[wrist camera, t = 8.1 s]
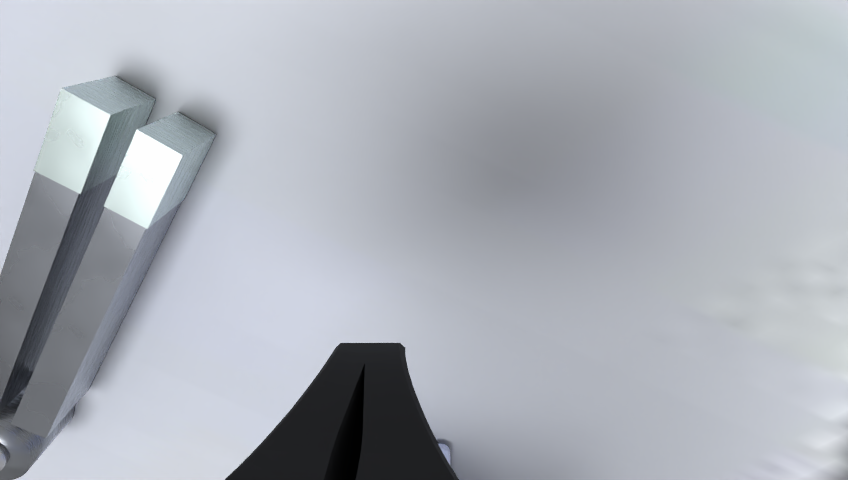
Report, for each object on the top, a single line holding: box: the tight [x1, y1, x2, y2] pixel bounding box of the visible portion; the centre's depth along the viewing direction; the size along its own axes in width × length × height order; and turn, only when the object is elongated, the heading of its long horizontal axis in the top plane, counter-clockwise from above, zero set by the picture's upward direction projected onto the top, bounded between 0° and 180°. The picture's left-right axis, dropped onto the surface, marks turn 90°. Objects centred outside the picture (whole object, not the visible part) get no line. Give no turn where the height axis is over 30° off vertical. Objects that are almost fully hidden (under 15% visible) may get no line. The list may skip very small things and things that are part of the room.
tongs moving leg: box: [0, 76, 156, 411], centre depth 20 cm, size 14×2×3 cm, turn 148°
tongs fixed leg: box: [0, 112, 216, 480], centre depth 20 cm, size 18×3×3 cm, turn 147°
